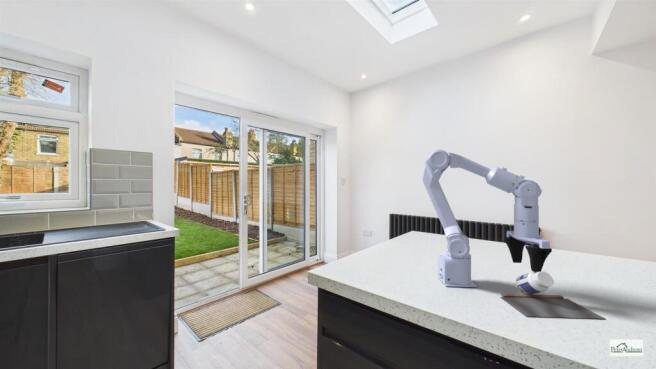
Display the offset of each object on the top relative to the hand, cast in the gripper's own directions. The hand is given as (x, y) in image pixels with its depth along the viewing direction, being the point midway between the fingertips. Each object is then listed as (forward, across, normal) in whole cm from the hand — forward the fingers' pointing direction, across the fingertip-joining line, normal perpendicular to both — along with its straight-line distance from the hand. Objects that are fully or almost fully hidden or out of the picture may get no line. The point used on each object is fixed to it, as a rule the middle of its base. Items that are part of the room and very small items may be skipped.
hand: (526, 266), depth 73 cm
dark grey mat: (+8, -8, 0) cm, 11 cm away
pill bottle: (+6, +1, 0) cm, 6 cm away
